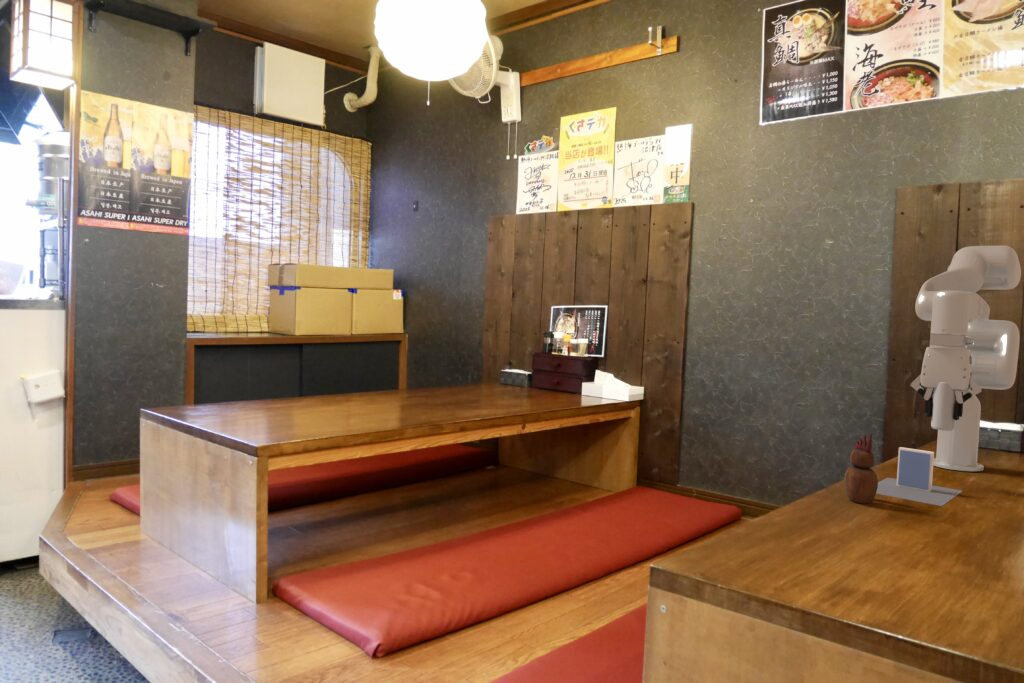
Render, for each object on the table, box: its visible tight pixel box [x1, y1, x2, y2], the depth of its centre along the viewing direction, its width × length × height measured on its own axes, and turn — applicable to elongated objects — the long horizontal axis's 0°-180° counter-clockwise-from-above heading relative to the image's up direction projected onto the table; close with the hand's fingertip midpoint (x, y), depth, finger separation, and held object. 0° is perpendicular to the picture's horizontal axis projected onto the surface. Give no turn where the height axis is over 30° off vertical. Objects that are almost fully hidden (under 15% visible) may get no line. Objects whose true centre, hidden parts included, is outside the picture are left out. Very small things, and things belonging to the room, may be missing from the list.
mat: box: [876, 477, 963, 507], centre depth 162 cm, size 20×16×1 cm
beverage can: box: [930, 382, 956, 431], centre depth 169 cm, size 5×5×12 cm
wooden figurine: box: [843, 433, 879, 504], centre depth 152 cm, size 7×6×15 cm
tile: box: [896, 446, 935, 492], centre depth 164 cm, size 2×7×9 cm, turn 46°
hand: (943, 417), depth 169 cm, fingers closed on beverage can, 4 cm apart
